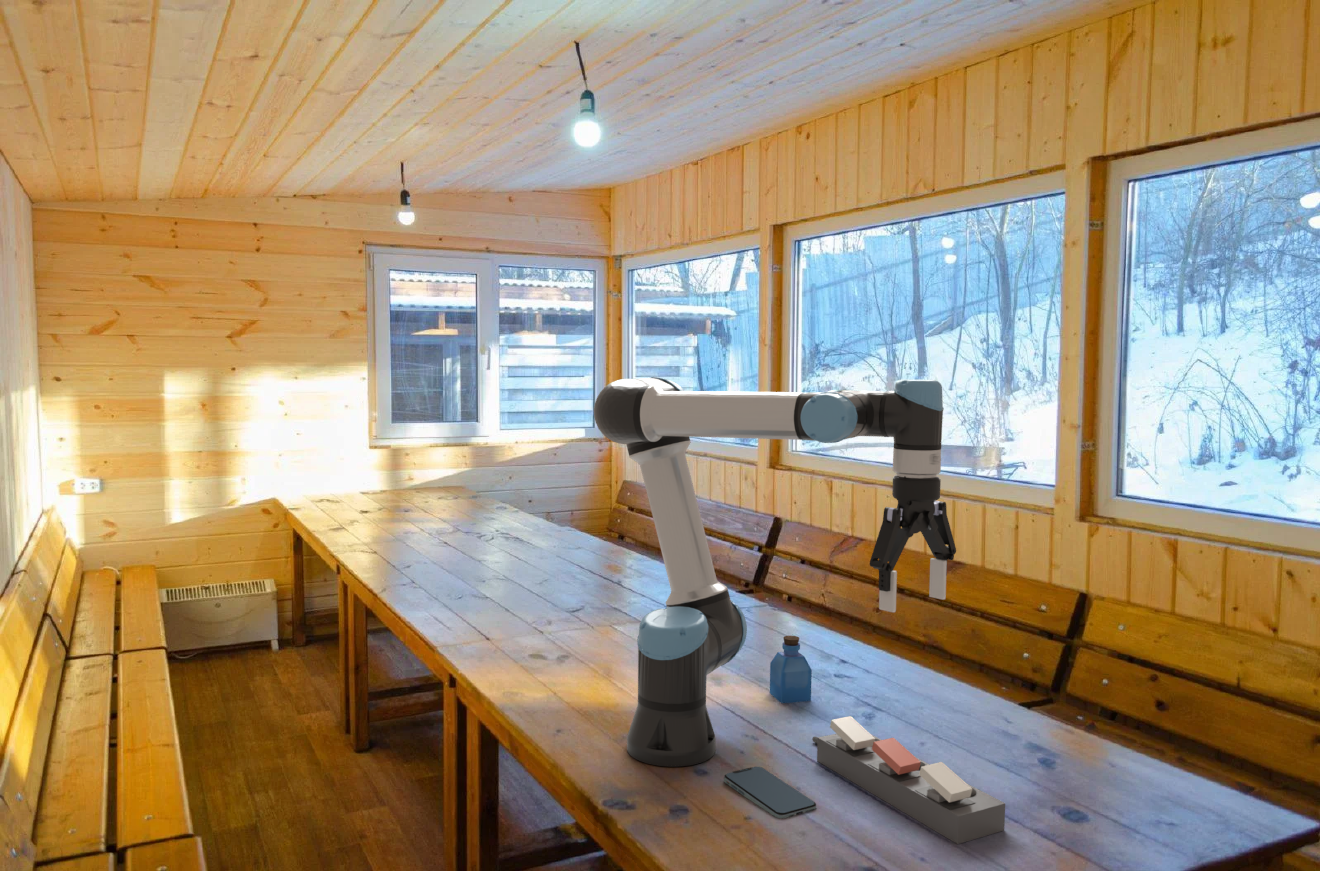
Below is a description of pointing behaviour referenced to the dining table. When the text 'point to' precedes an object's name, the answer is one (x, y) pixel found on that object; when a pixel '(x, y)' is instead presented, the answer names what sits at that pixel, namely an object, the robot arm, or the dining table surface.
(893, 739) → the rocker mid
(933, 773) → the rocker near
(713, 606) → the robot arm
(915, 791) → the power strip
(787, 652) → the perfume bottle
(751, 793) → the smartphone
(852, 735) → the rocker far
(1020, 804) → the dining table surface
